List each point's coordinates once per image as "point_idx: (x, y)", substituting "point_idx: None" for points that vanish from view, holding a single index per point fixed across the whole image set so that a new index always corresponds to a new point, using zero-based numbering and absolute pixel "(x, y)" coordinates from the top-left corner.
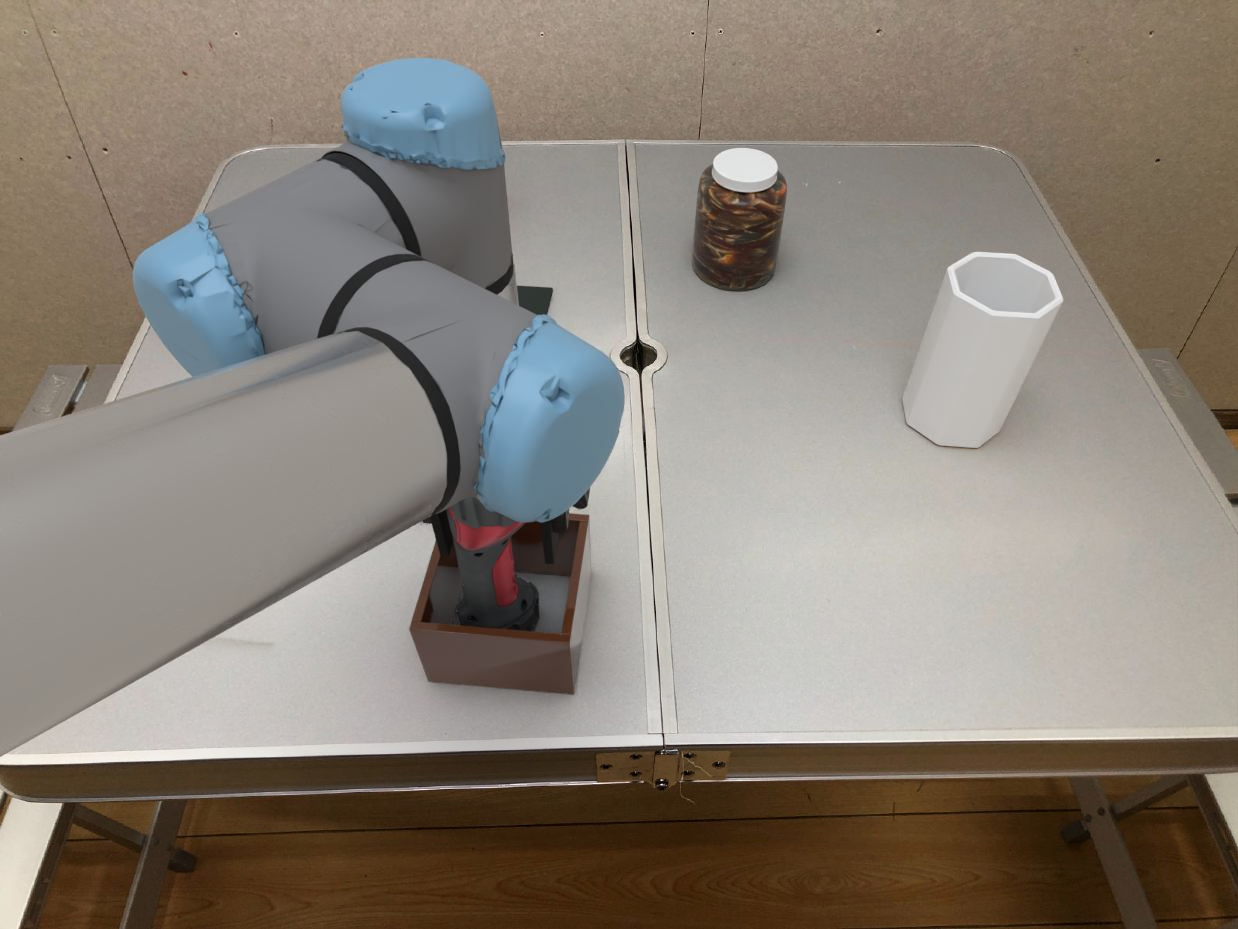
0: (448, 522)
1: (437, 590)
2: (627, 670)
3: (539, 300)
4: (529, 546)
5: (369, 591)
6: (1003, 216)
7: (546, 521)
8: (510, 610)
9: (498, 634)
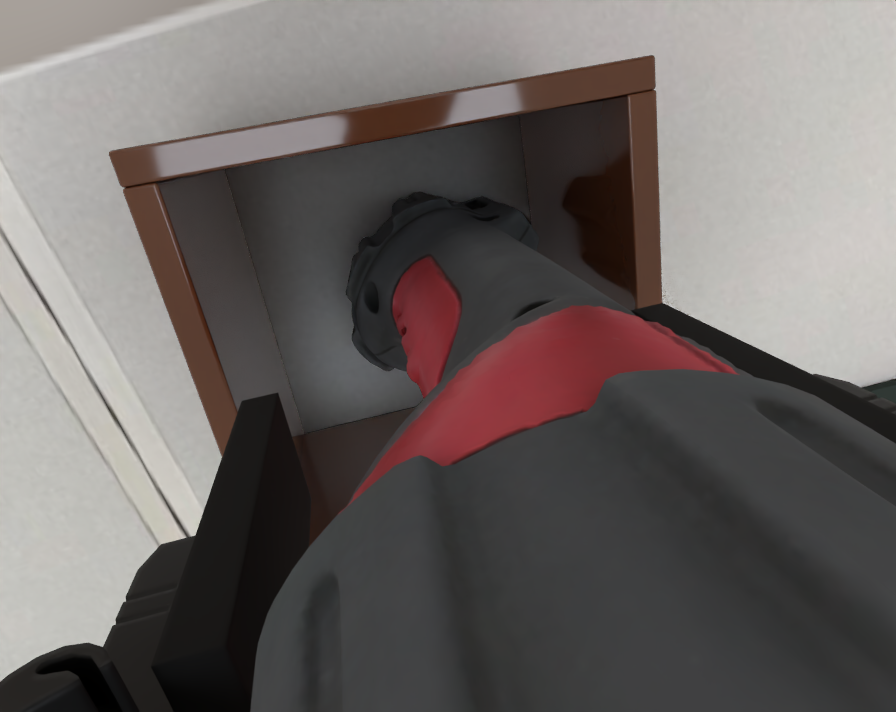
0: None
1: (604, 249)
2: (101, 249)
3: None
4: None
5: (717, 262)
6: None
7: (196, 596)
8: (396, 267)
9: (367, 116)
